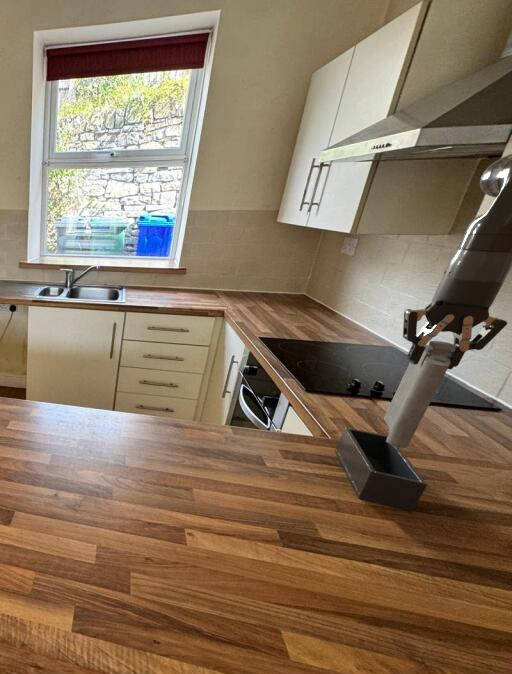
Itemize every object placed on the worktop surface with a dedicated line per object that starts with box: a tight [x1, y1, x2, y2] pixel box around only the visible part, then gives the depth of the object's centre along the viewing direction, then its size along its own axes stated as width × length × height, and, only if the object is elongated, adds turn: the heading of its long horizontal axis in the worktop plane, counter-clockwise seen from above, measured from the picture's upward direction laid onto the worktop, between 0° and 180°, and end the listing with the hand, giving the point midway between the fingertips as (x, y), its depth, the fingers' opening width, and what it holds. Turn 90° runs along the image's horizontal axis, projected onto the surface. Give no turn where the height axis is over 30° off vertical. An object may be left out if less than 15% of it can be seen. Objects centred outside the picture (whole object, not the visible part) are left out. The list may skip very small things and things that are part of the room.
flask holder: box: [334, 426, 428, 513], centre depth 89 cm, size 9×21×7 cm, turn 153°
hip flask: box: [383, 340, 456, 449], centre depth 81 cm, size 16×4×20 cm, turn 140°
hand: (429, 365), depth 79 cm, fingers closed on hip flask, 4 cm apart
